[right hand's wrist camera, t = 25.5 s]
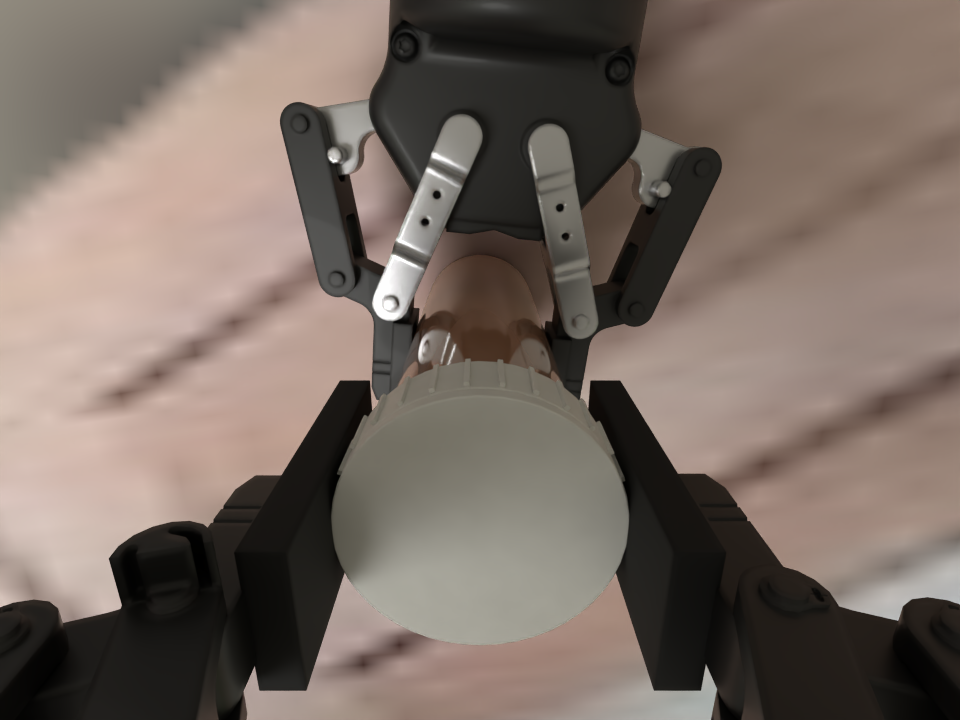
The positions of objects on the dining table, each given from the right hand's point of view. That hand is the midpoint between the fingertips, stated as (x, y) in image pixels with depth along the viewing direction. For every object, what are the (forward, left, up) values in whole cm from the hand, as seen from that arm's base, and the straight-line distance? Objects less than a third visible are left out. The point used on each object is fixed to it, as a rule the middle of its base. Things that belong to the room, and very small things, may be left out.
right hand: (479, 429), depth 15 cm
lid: (0, 0, +4) cm, 4 cm away
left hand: (0, -3, -6) cm, 7 cm away
